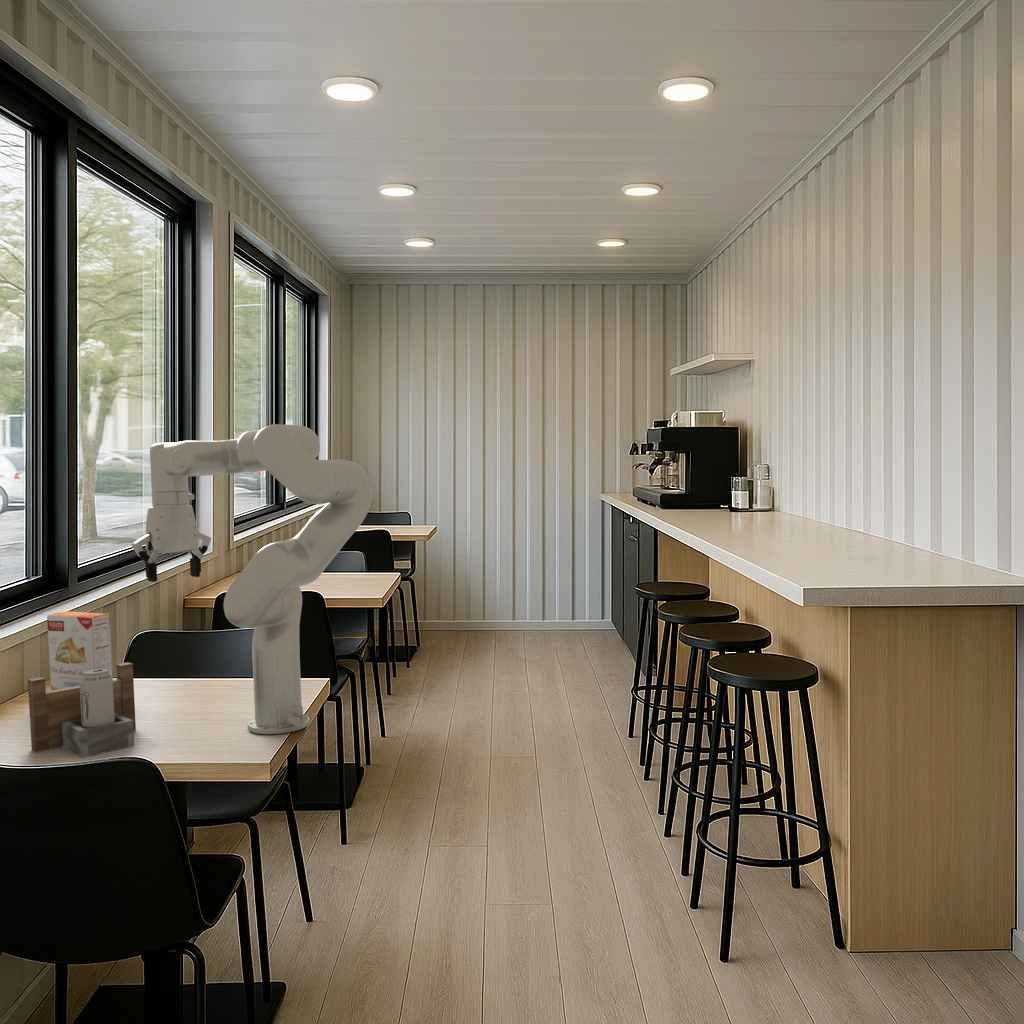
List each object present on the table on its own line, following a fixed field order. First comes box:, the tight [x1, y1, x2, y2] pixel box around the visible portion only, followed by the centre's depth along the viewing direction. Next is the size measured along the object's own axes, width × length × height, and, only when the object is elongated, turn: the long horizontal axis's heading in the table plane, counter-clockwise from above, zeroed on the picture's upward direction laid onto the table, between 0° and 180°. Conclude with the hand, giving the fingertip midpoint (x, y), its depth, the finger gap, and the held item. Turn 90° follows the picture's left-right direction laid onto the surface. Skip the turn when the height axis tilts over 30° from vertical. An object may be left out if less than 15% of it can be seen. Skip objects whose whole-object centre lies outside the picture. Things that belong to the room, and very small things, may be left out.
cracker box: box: [46, 610, 114, 691], centre depth 224 cm, size 14×6×21 cm, turn 68°
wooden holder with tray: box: [27, 661, 137, 758], centre depth 188 cm, size 13×20×14 cm, turn 135°
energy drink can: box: [79, 668, 115, 729], centre depth 187 cm, size 6×6×15 cm
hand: (174, 578), depth 206 cm, fingers open, 9 cm apart
